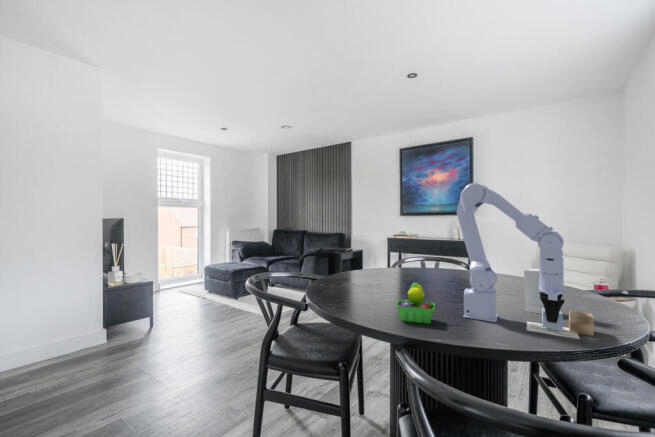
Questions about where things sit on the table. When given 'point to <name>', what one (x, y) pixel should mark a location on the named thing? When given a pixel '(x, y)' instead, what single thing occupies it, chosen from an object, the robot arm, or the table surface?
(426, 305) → the fruit basket
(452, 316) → the table surface
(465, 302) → the robot arm
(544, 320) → the blue cube
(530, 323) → the letter
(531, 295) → the skincare box
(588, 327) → the oak block
